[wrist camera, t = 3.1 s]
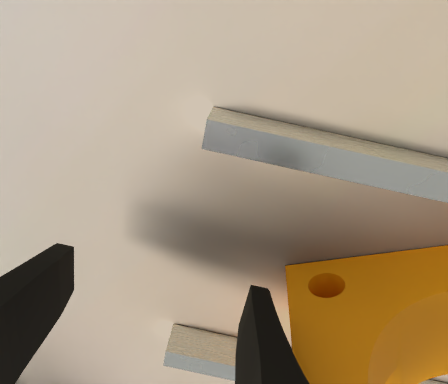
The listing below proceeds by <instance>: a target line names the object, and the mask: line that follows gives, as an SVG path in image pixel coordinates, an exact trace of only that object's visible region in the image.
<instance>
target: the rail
mask: <svg viewBox="0 0 448 384" xmlns="http://www.w3.org/2000/svg"><path fill="white" fill-rule="evenodd" d="M202 149H205V150H209V151H214V152H219V153H223V154H228V155H232V156H237V157H241V158H246V159H250V160H255V161H259V162H264V163H269V164H273V165H278V166H282V167H287V168H291V169H296V170H300V171H305V172H309V173H314V174H319V175H323V176H328V177H332V178H337V179H341V180H346V181H350V182H355V183H359V184H364V185H369V186H373V187H378V188H382V189H387V190H391V191H396V192H400V193H405V194H409V195H414V196H418V197H423V198H428V199H432V200H437V201H441V202H446V203H448V158H444V157H439V156H435V155H430V154H426V153H421V152H416V151H412V150H407V149H403V148H398V147H394V146H389V145H385V144H380V143H376V142H371V141H367V140H362V139H358V138H353V137H348V136H344V135H339V134H335V133H330V132H326V131H321V130H317V129H312V128H308V127H303V126H299V125H294V124H290V123H285V122H280V121H276V120H271V119H267V118H262V117H258V116H253V115H249V114H244V113H240V112H235V111H231V110H226V109H222V108H217V107H213V108H212V110H211V112H210V114H209V116H208V118H207V122H206V128H205V133H204V139H203V145H202ZM236 344H237V338H236V337H231V336H227V335H222V334H217V333H213V332H208V331H204V330H199V329H195V328H190V327H185V326H181V325H176V324H173V328H172V331H171V335H170V338H169V342H168V345H167V349H166V353H165V359H164V364H163V366H168V367H173V368H177V369H182V370H186V371H191V372H196V373H200V374H205V375H209V376H214V377H219V378H223V379H228V380H232V381H235V354H236ZM419 384H447V383H442V382H438V381H433V380H429V379H428V380H425V381H423V382H421V383H419Z"/></svg>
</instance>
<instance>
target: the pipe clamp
mask: <svg viewBox="0 0 448 384" xmlns="http://www.w3.org/2000/svg"><path fill="white" fill-rule="evenodd" d="M285 269H286V281H287V293H288V305H289V316H290V328H291V340H292V351H293V353H294V355H295V357H296V359H297V361H298V363H299V365H300V367H301V369H302V371H303V373H304V375H305V377H306V378H307V380H308V382H309V384H419V383H421V382H423V381H425V380H428V379H430V378H434V377H437V376H441V375H446V374H448V245H446V246H438V247H430V248H422V249H414V250H406V251H398V252H390V253H382V254H374V255H366V256H358V257H350V258H342V259H334V260H326V261H318V262H310V263H302V264H295V265H287V266H285Z"/></svg>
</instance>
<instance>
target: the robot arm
mask: <svg viewBox="0 0 448 384" xmlns="http://www.w3.org/2000/svg"><path fill="white" fill-rule="evenodd" d="M73 291H74V247H72V246H68V245H63V244H58V243H56V244H55V245H53V246H51V247H50V248H48V249H46V250H45V251H43V252H41V253H40V254H38V255H36V256H35V257H33V258H31V259H30V260H28V261H26V262H25V263H23V264H21V265H20V266H18V267H16V268H15V269H13V270H11V271H10V272H8V273H6V274H4V275H3V276H1V277H0V384H15V383H16V381H17V380H18V378H19V376H20V375H21V373H22V372H23V370H24V369H25V367H26V366H27V364H28V363H29V361H30V360H31V359H32V357H33V356H34V354H35V353H36V351H37V350H38V348H39V347H40V345H41V344H42V343H43V341H44V340H45V338H46V337H47V335H48V334H49V332H50V331H51V329H52V328H53V326H54V325H55V323H56V322H57V320H58V319H59V317H60V316H61V314H62V312H63V310H64V308H65V307H66V305H67V303H68V301H69V299H70V297H71V295H72V293H73ZM235 384H309V382H308V380H307V378H306V377H305V375H304V373H303V371H302V369H301V367H300V365H299V363H298V361H297V359H296V357H295V355H294V353H293V351H292V349H291V347H290V345H289V342H288V340H287V338H286V335H285V333H284V331H283V328H282V326H281V323H280V321H279V318H278V315H277V313H276V310H275V307H274V304H273V301H272V298H271V294H270V291H269V290H268V289H267V288H262V287H258V286H253V285H251V286H250V290H249V293H248V296H247V300H246V303H245V306H244V310H243V313H242V316H241V320H240V323H239V328H238V336H237V344H236V354H235Z"/></svg>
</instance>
